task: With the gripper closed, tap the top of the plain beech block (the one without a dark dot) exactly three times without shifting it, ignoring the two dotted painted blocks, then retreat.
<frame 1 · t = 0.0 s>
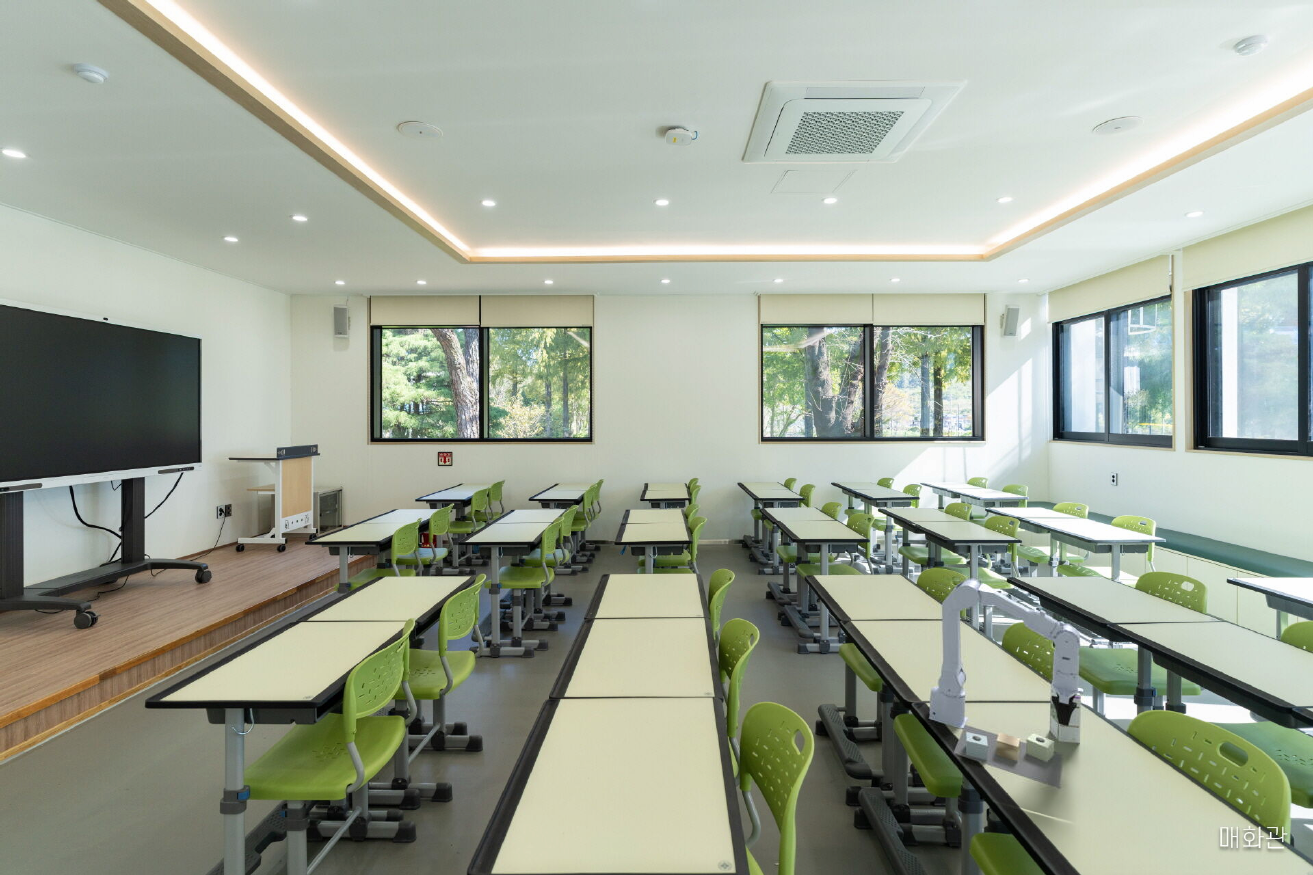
hand: (1063, 718, 157), 10 cm above the table, tool pointing down, fingers open, 7 cm apart
syrup box: (1064, 738, 166), on the table
rubber mat: (1007, 754, 157), on the table
sage dotted block: (1039, 754, 157), resting on rubber mat
slate dotted block: (976, 752, 157), resting on rubber mat
beech block: (1008, 753, 157), resting on rubber mat
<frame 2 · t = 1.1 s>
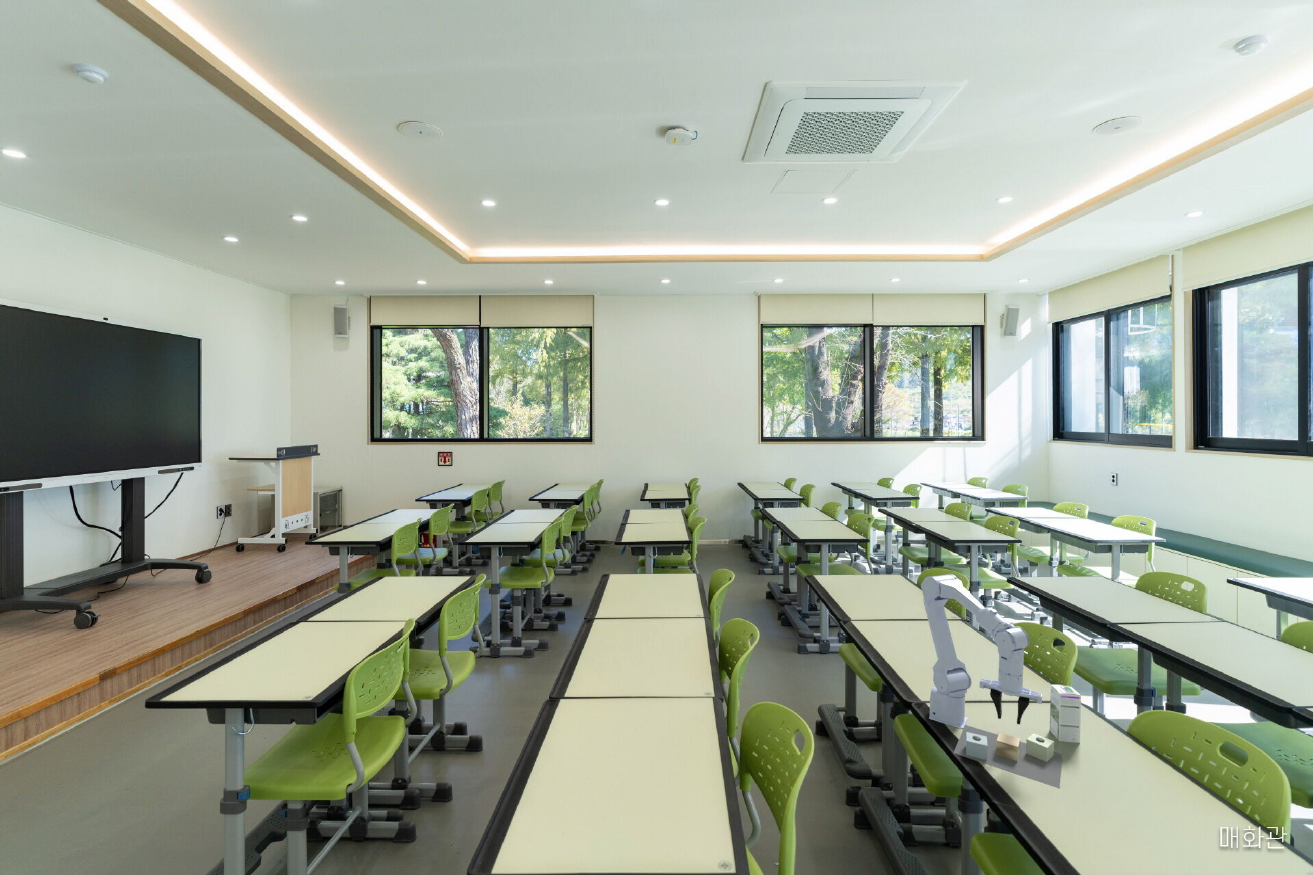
hand: (1009, 719, 157), 10 cm above the table, tool pointing down, fingers open, 4 cm apart
nothing on the table moved.
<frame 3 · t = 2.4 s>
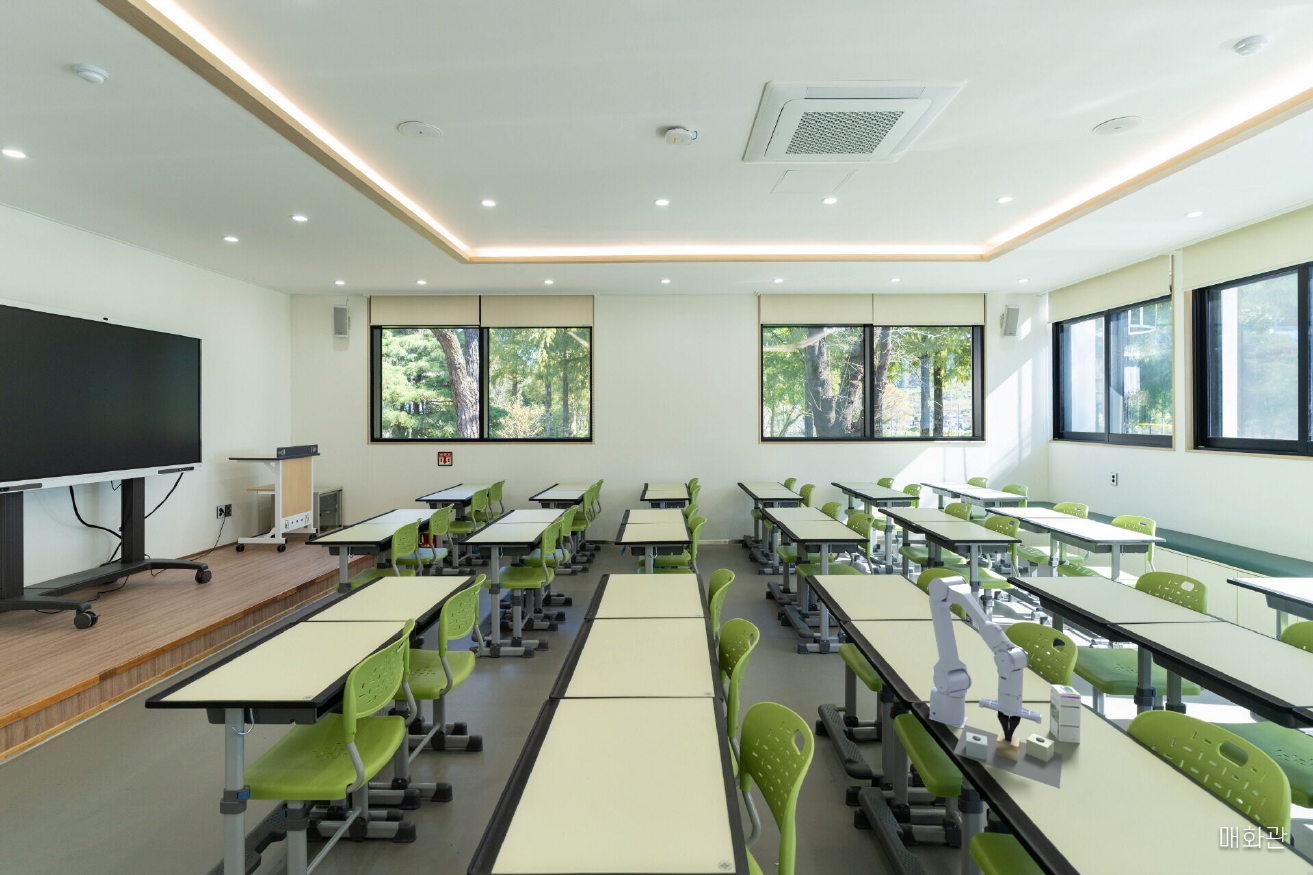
hand: (1008, 739, 157), 4 cm above the table, tool pointing down, fingers closed, pressing on beech block
beech block: (1008, 753, 157), resting on rubber mat, touching gripper
everything else where it was.
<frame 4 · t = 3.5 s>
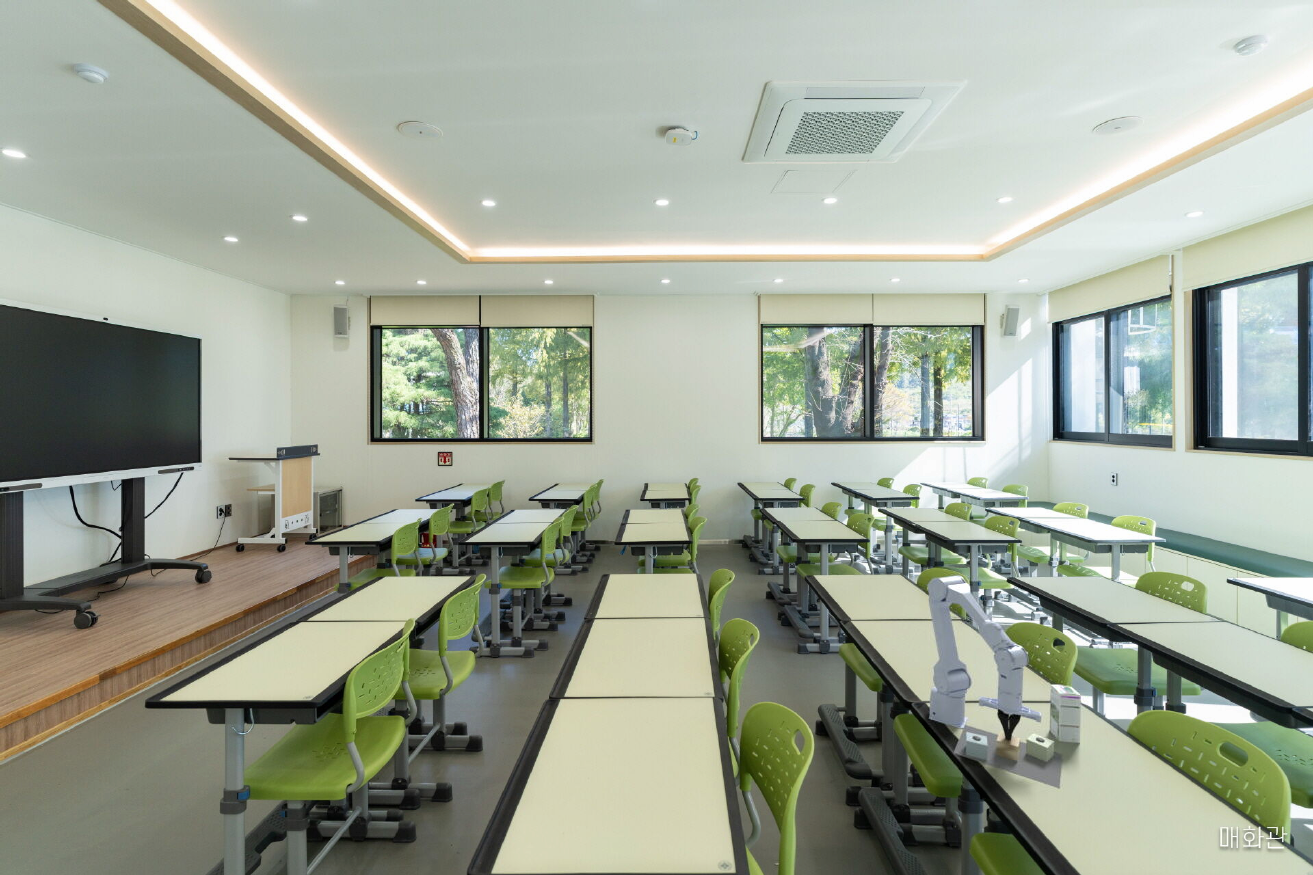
hand: (1008, 738, 157), 5 cm above the table, tool pointing down, fingers closed
beech block: (1008, 753, 157), resting on rubber mat
everything else where it was.
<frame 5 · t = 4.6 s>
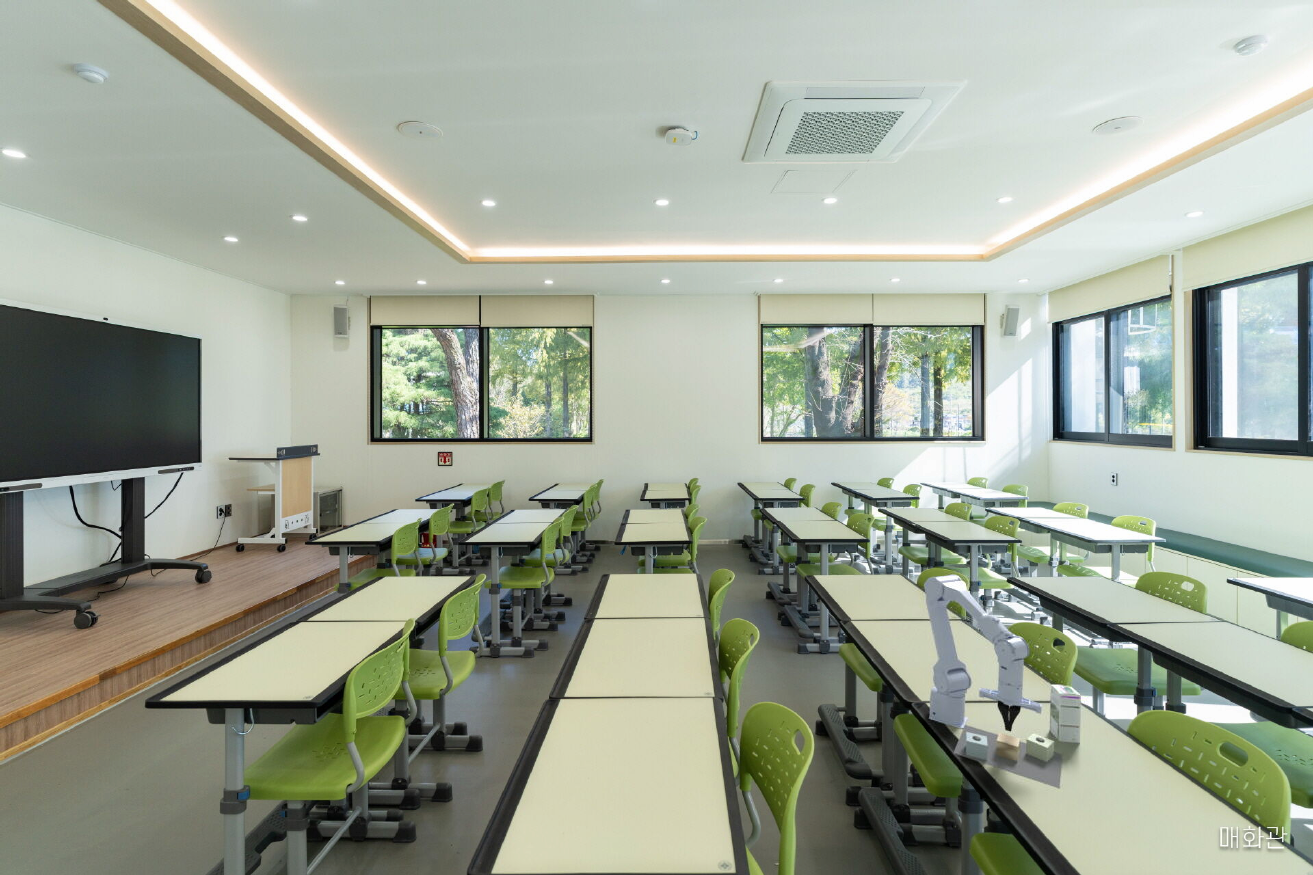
hand: (1008, 729, 157), 7 cm above the table, tool pointing down, fingers closed
nothing on the table moved.
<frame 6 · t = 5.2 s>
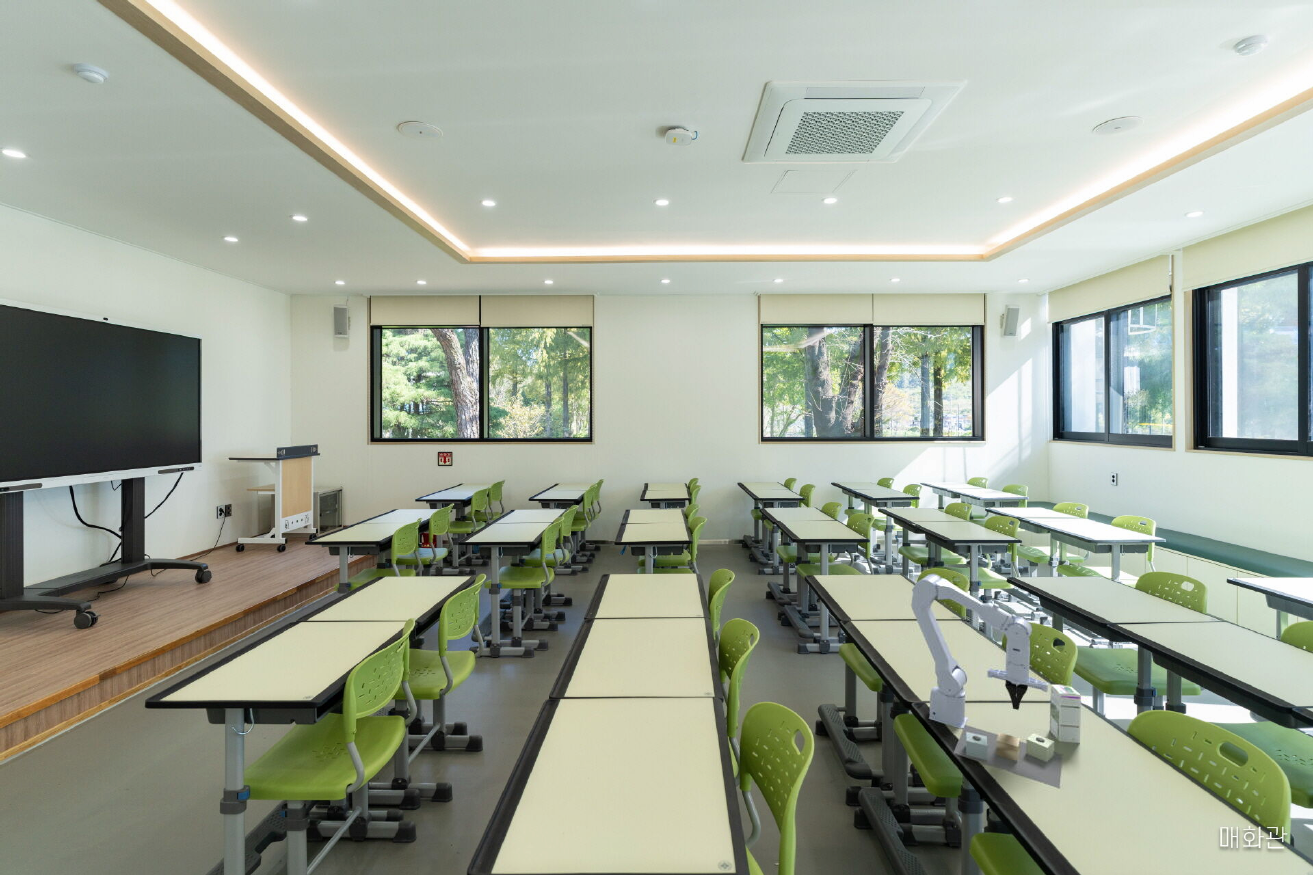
hand: (1016, 707, 163), 10 cm above the table, tool pointing down, fingers closed
nothing on the table moved.
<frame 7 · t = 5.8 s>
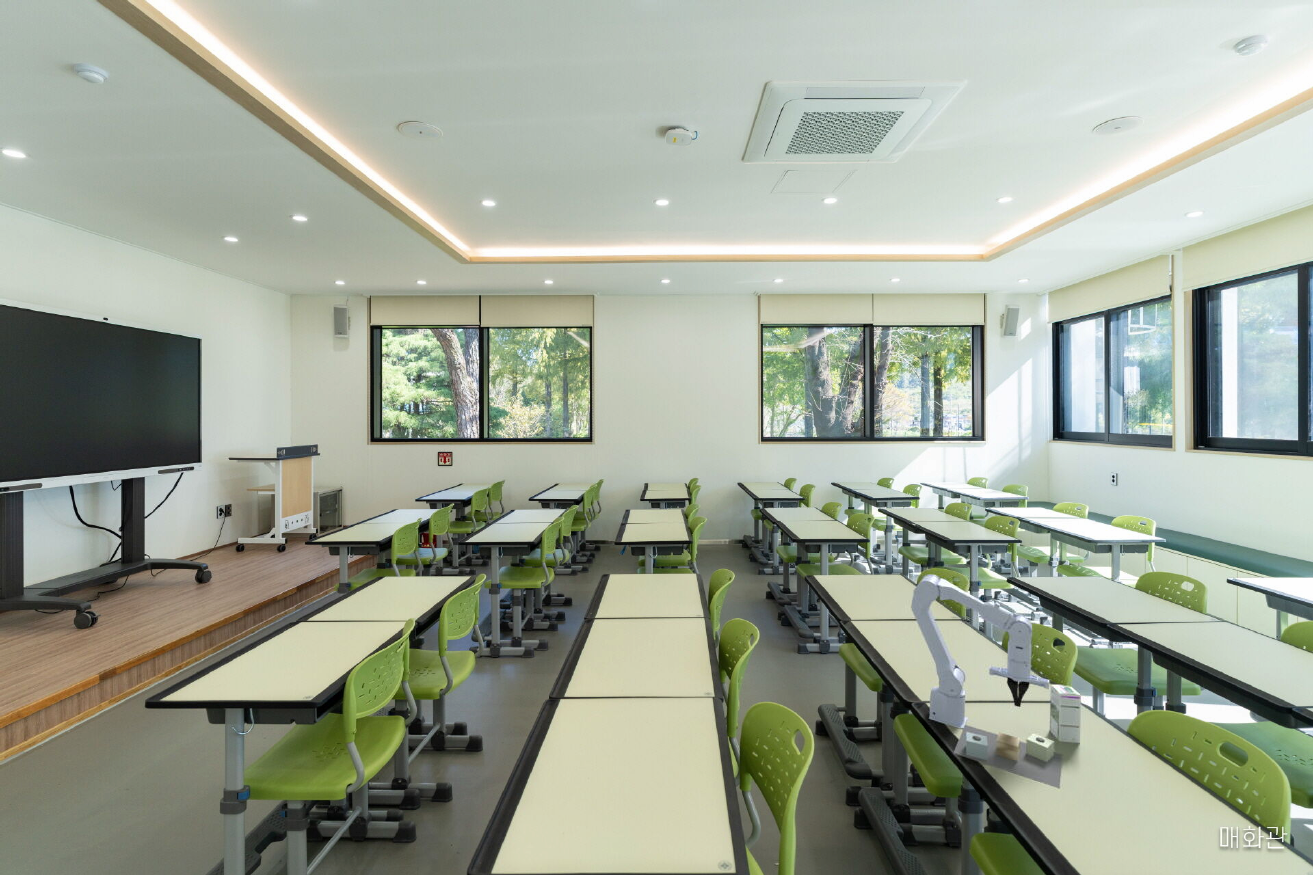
hand: (1017, 704, 165), 10 cm above the table, tool pointing down, fingers closed
nothing on the table moved.
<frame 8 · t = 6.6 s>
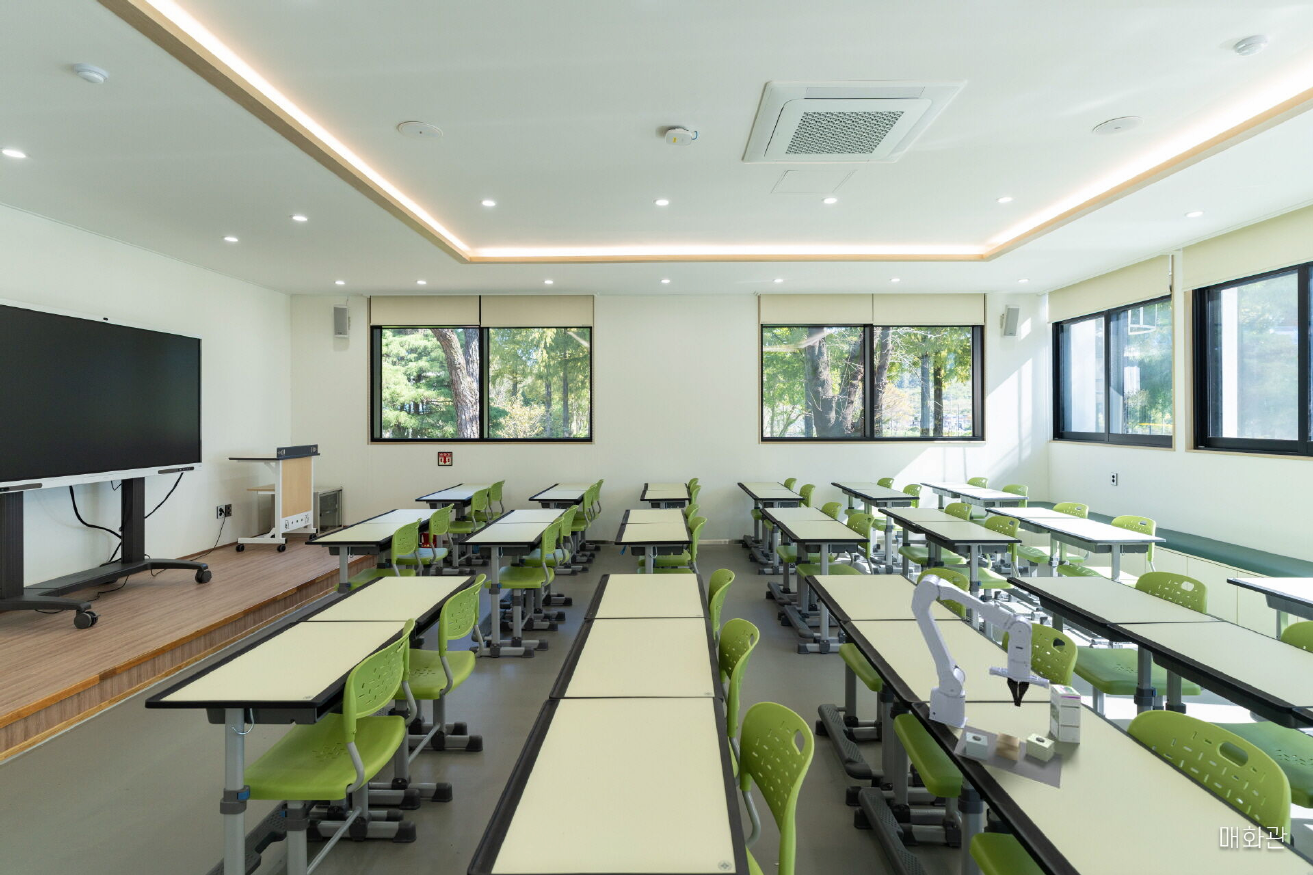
hand: (1017, 704, 165), 10 cm above the table, tool pointing down, fingers closed
nothing on the table moved.
at the end: beech block moved 0.0 cm from its start; beech block tilted 0°; slate dotted block moved 0.0 cm from its start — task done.
